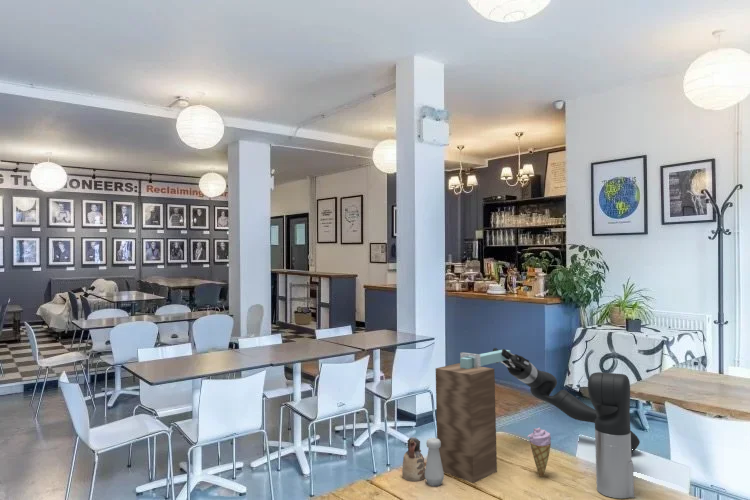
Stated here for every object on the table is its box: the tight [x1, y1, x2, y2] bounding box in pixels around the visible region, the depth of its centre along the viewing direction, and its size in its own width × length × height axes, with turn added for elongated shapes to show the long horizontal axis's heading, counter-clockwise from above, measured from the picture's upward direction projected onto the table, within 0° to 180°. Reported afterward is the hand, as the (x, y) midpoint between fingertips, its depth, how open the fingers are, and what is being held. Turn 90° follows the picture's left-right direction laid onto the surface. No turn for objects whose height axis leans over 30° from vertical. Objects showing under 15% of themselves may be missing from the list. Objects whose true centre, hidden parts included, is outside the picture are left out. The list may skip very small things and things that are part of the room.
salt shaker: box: [424, 437, 445, 487], centre depth 153 cm, size 6×6×13 cm
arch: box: [459, 351, 482, 369], centre depth 165 cm, size 7×2×4 cm, turn 42°
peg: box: [459, 349, 511, 369], centre depth 171 cm, size 24×3×3 cm, turn 132°
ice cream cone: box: [527, 427, 552, 478], centre depth 157 cm, size 7×6×15 cm
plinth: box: [435, 362, 498, 484], centre depth 162 cm, size 14×12×32 cm
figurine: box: [401, 436, 426, 482], centre depth 158 cm, size 7×7×12 cm
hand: (498, 351), depth 176 cm, fingers closed on peg, 3 cm apart
